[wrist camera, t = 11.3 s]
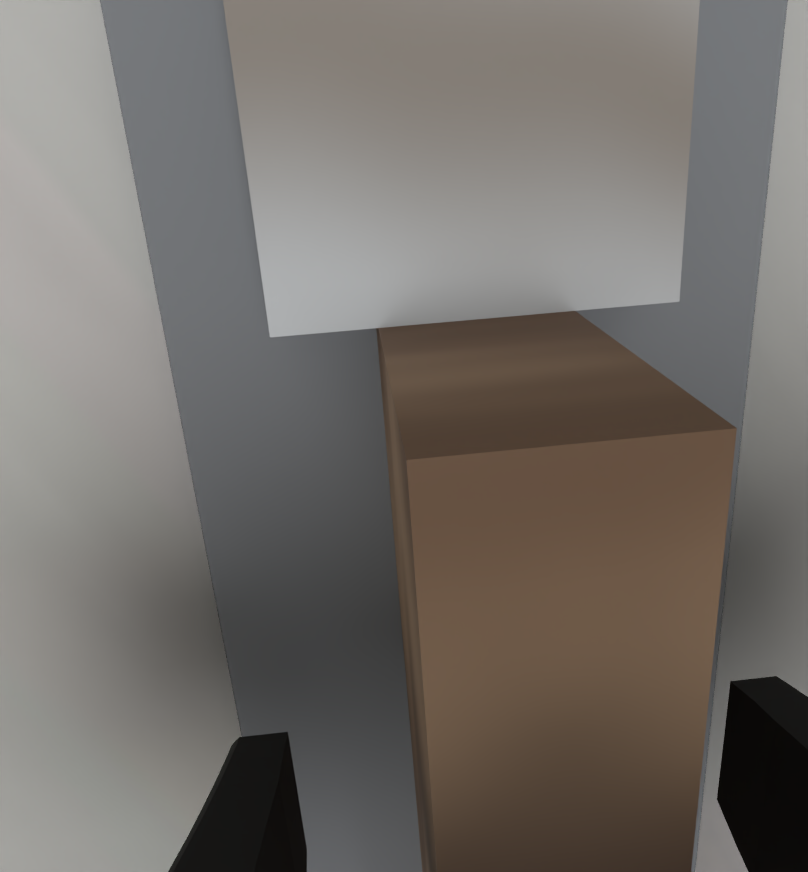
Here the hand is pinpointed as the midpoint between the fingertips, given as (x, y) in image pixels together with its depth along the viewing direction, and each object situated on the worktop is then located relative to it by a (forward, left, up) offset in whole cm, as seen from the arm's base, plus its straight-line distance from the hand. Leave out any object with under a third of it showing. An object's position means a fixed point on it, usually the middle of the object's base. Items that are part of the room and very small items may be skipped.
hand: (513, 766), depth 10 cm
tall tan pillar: (+2, 0, -3) cm, 3 cm away
